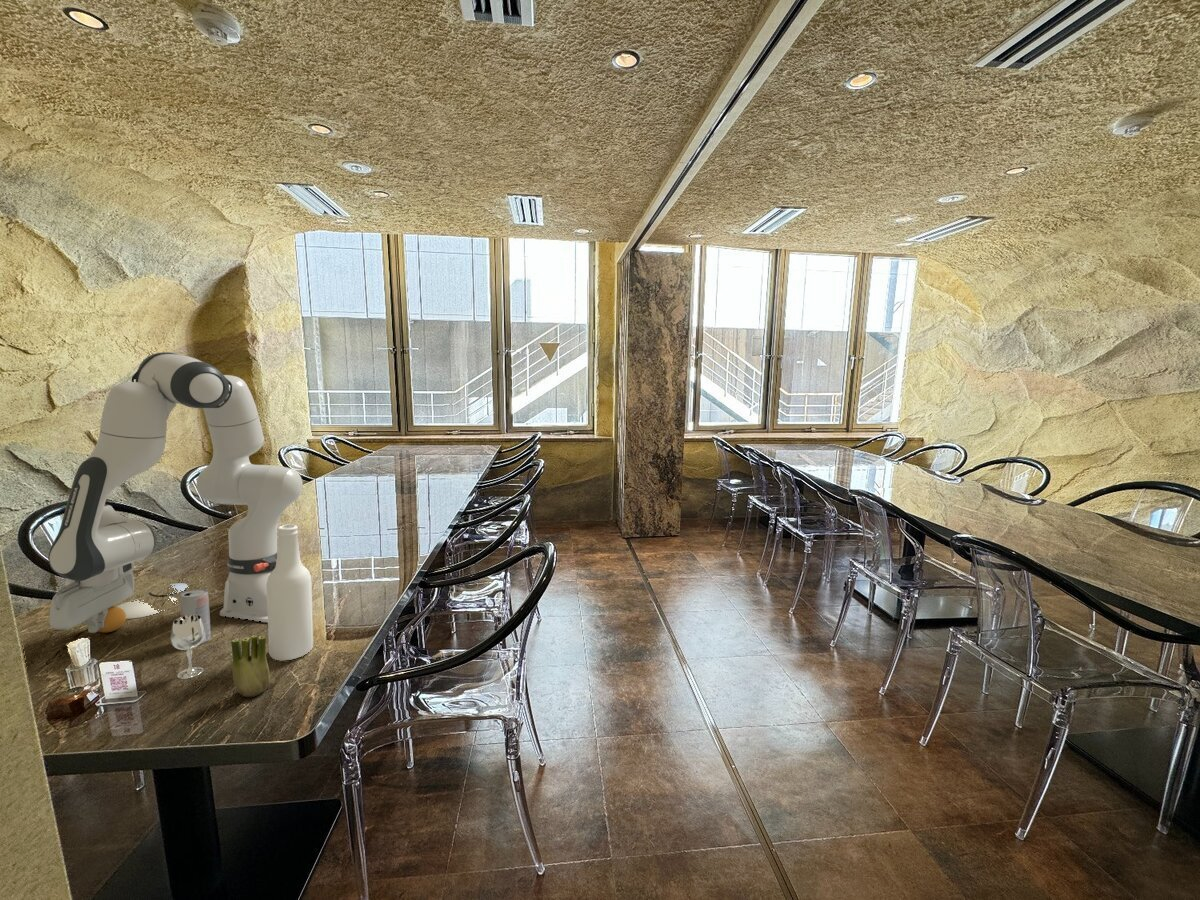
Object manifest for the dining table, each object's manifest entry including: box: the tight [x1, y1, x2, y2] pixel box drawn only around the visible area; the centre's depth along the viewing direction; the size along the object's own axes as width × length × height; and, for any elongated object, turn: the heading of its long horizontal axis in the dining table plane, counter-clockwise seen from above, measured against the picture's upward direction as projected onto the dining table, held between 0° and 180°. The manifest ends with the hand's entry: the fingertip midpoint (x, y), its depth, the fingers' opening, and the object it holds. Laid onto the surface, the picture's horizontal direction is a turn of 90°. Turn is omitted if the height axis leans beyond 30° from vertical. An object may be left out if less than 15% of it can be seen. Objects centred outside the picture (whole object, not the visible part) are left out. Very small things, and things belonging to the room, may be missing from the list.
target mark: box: [115, 595, 178, 620], centre depth 141 cm, size 14×14×1 cm
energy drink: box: [179, 588, 212, 646], centre depth 125 cm, size 5×5×12 cm
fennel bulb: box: [230, 634, 271, 698], centre depth 106 cm, size 6×5×12 cm
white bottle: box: [266, 524, 314, 662], centre depth 120 cm, size 9×9×30 cm
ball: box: [98, 606, 127, 634], centre depth 128 cm, size 6×6×6 cm
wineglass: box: [170, 615, 205, 680], centre depth 111 cm, size 6×6×12 cm
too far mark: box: [167, 582, 190, 596], centre depth 153 cm, size 9×9×1 cm
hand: (96, 630), depth 124 cm, fingers closed
